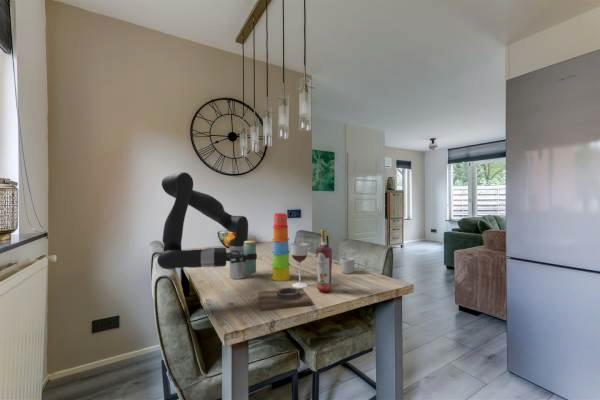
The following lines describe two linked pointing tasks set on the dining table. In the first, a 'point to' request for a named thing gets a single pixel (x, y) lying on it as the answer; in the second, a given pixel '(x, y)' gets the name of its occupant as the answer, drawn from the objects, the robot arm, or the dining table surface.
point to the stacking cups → (280, 248)
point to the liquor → (324, 264)
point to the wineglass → (299, 258)
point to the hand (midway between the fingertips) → (256, 255)
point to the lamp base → (278, 303)
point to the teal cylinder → (250, 264)
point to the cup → (348, 265)
